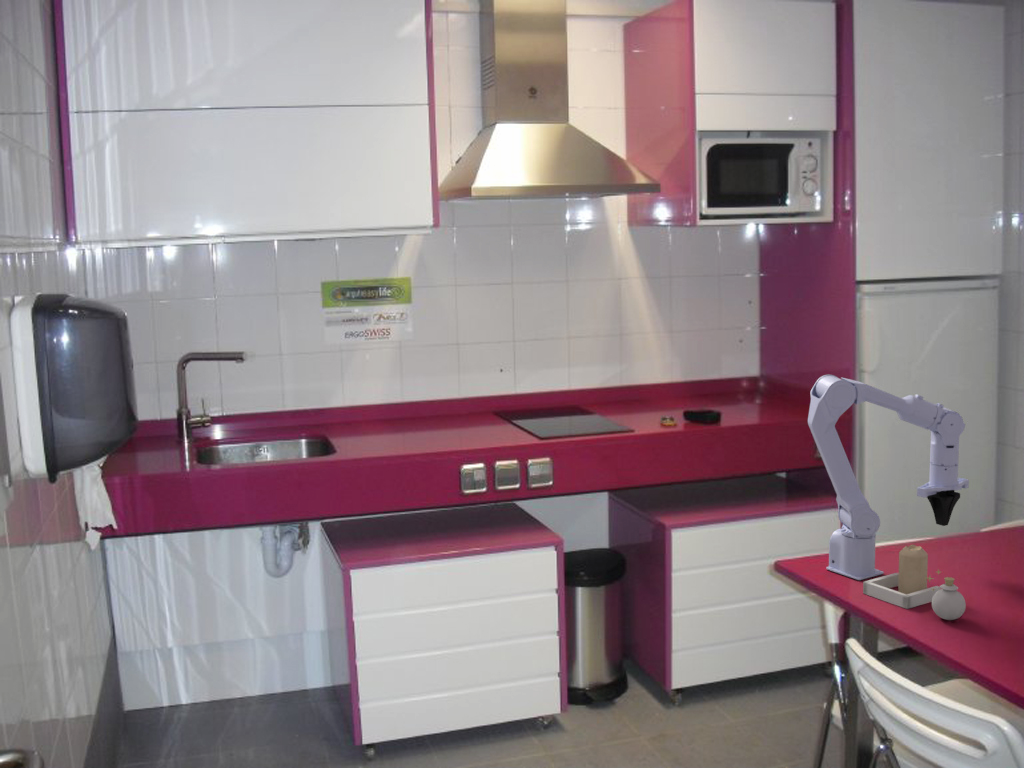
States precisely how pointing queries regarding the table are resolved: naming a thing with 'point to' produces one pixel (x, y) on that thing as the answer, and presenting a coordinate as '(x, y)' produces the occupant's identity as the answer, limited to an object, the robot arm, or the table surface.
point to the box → (882, 592)
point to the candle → (912, 569)
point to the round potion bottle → (948, 600)
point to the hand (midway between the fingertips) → (942, 524)
